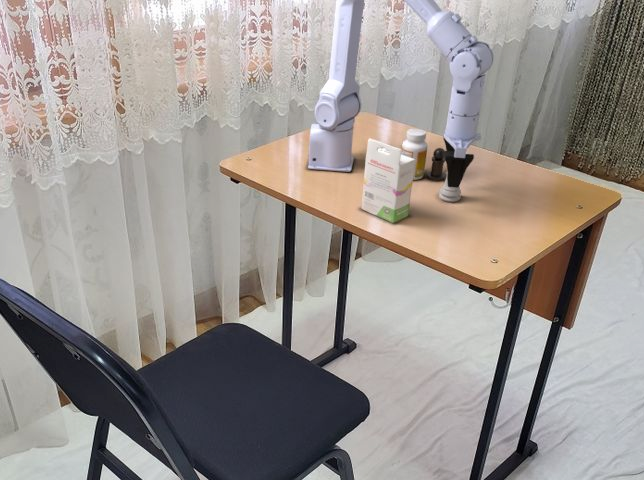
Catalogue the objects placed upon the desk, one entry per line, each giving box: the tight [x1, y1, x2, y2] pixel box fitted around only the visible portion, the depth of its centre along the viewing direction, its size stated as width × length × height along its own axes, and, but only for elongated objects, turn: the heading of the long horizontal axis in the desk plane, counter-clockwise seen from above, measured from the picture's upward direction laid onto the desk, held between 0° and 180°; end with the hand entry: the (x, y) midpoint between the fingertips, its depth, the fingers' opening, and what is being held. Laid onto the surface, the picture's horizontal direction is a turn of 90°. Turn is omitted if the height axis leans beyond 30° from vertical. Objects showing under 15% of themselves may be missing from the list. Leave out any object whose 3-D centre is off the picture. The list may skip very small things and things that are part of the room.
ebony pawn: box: [426, 147, 447, 182], centre depth 157 cm, size 4×4×7 cm
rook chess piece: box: [438, 163, 462, 203], centre depth 148 cm, size 4×4×8 cm
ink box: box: [361, 137, 415, 224], centre depth 141 cm, size 9×5×15 cm, turn 42°
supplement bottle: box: [401, 128, 429, 181], centre depth 156 cm, size 5×5×10 cm
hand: (452, 178), depth 148 cm, fingers open, 7 cm apart
